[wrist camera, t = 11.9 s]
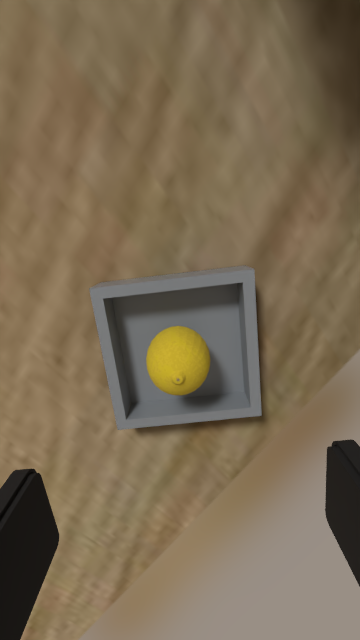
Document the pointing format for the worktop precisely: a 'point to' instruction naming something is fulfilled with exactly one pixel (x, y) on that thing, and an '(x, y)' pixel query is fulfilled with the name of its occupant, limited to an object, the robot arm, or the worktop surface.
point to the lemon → (178, 360)
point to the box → (188, 311)
